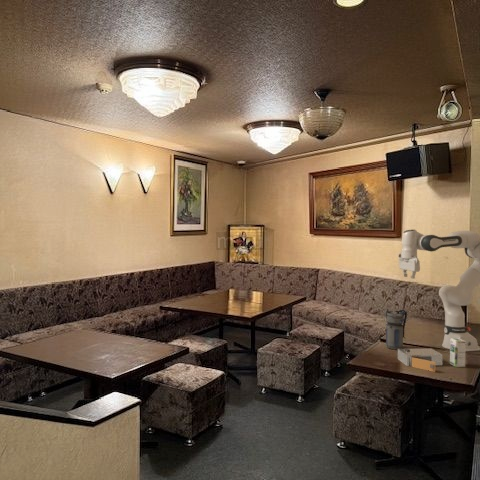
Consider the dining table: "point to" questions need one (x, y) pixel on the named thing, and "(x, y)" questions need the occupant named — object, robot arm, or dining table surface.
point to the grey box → (419, 355)
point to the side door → (422, 364)
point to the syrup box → (457, 352)
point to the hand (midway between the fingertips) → (409, 277)
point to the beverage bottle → (395, 329)
